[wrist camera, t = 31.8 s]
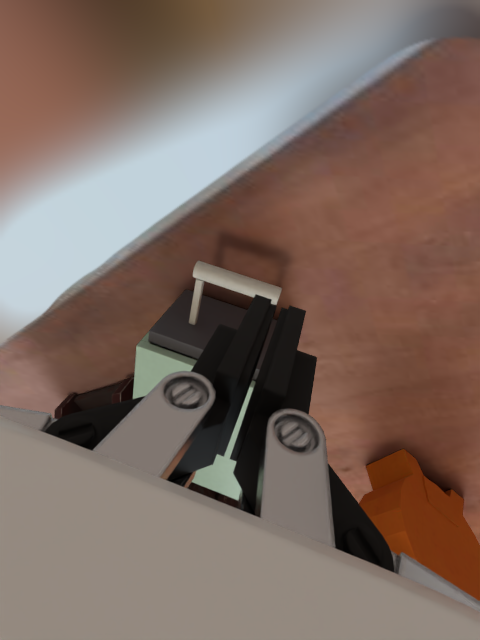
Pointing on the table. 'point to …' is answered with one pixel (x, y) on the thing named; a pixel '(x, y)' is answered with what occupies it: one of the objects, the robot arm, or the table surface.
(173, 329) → the drawer
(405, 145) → the table surface
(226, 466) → the cabinet
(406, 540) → the alarm clock
